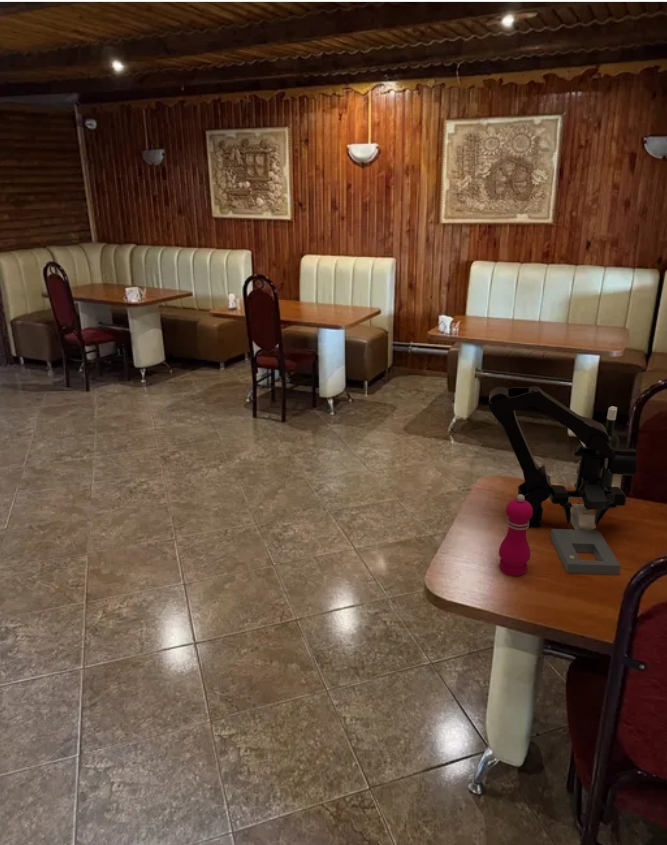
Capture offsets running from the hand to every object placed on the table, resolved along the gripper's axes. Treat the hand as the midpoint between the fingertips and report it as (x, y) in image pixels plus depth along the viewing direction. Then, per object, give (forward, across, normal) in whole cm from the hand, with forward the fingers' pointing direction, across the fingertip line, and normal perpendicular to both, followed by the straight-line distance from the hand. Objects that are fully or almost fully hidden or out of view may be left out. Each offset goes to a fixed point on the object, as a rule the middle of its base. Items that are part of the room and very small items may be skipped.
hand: (581, 523), depth 169 cm
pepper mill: (+1, -22, -20) cm, 30 cm away
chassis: (+1, -4, -14) cm, 14 cm away
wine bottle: (+1, +8, +12) cm, 15 cm away
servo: (+1, 0, 0) cm, 1 cm away
